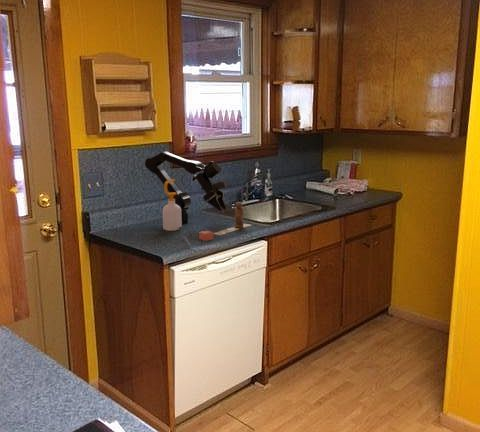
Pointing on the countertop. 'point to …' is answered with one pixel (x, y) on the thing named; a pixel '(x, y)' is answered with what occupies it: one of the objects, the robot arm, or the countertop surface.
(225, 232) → the track board
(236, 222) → the pawn
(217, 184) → the robot arm
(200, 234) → the red cube
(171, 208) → the soap bottle
